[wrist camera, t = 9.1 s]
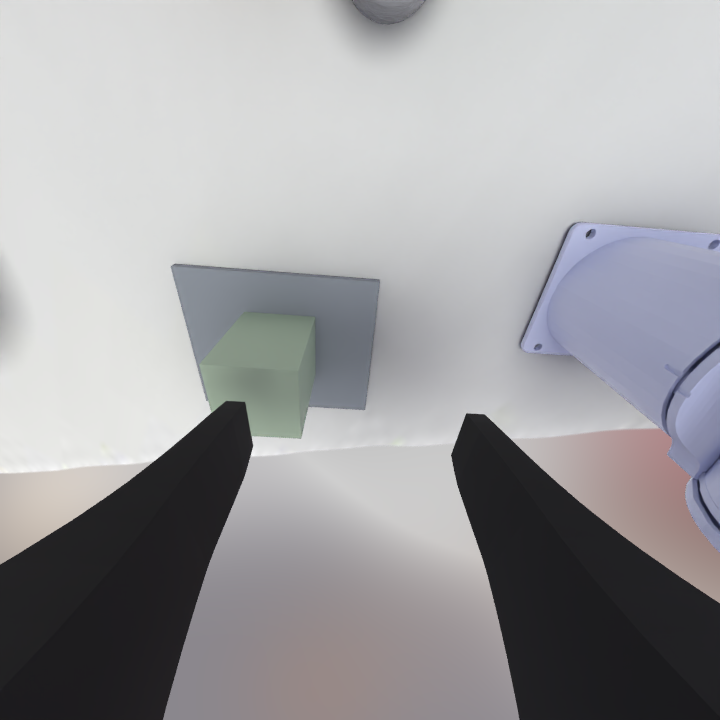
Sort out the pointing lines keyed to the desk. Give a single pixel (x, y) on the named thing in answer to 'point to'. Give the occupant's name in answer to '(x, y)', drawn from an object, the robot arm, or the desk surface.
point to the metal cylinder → (388, 9)
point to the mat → (289, 297)
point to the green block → (265, 371)
